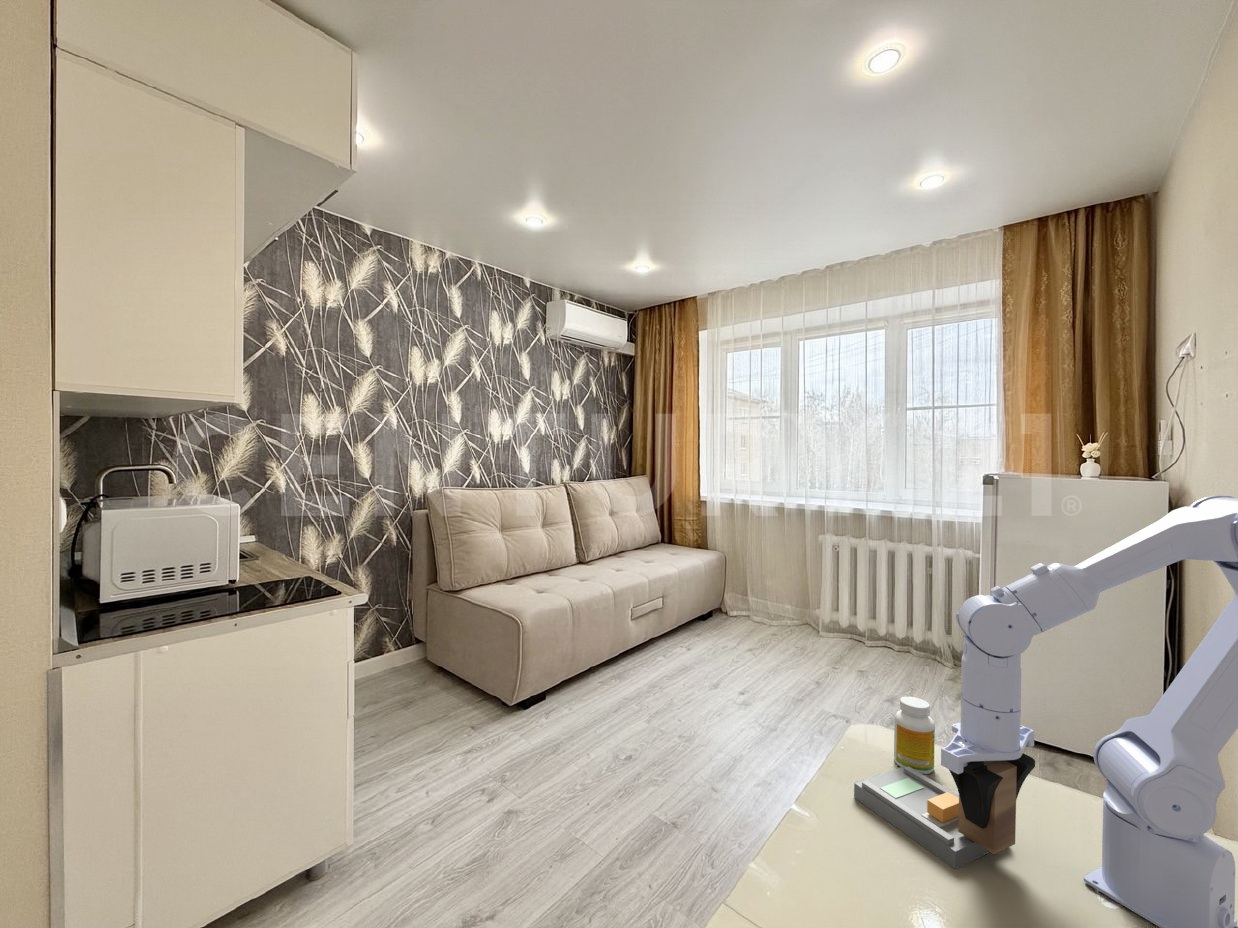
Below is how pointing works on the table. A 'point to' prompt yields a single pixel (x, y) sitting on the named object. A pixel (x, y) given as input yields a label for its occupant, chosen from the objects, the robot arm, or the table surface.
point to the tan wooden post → (996, 812)
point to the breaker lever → (943, 806)
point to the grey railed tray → (917, 813)
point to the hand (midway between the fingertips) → (987, 817)
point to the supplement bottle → (914, 735)
